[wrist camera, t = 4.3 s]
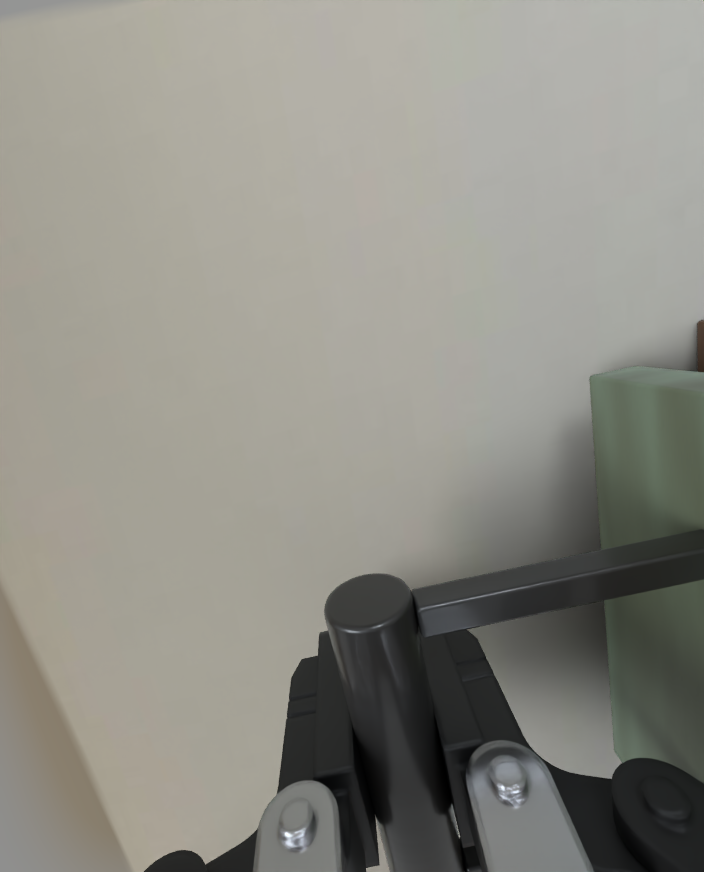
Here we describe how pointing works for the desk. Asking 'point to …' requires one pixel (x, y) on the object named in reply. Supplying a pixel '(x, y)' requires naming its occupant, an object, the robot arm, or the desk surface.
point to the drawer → (540, 593)
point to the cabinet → (700, 345)
